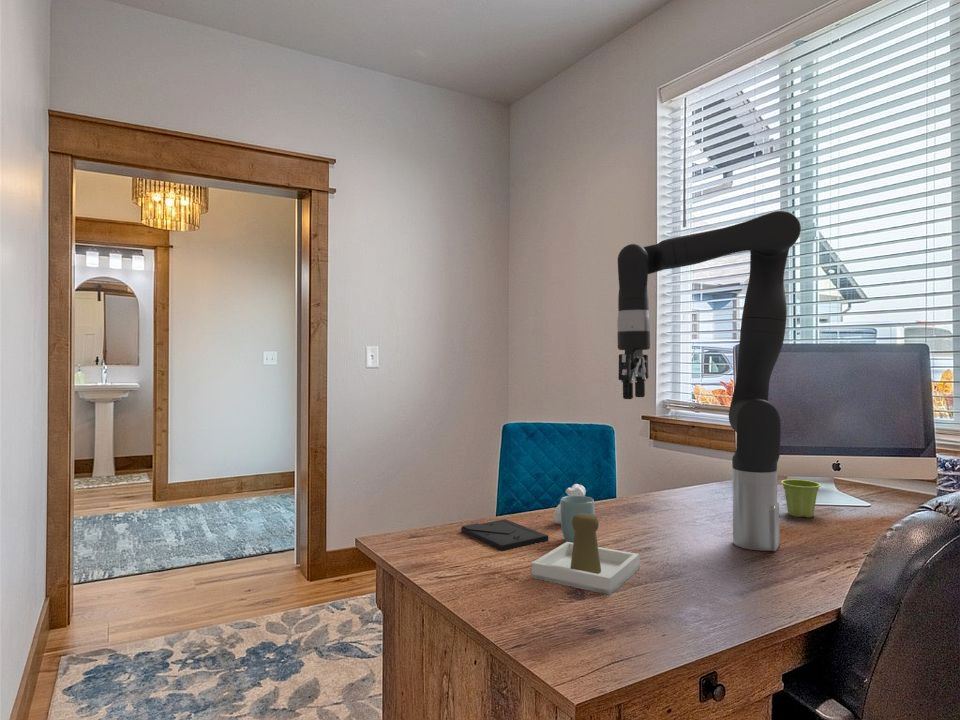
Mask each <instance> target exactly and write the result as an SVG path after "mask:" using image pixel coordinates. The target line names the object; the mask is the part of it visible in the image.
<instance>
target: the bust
mask: <svg viewBox="0 0 960 720" xmlns="http://www.w3.org/2000/svg"><path fill="white" fill-rule="evenodd" d="M586 492H587V491H586V488H585V487H584V486H583V485H582V484H578V483H574V484H573V485H571V487H567V488H566V489H565V493H566V494H567V496H586ZM553 520H554V522H555V523H556V524H558V525H560V524H561V515H560V503H559V504H558V505H557V506H556V508H555V510H554V512H553Z"/></svg>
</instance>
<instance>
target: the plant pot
mask: <svg viewBox="0 0 960 720" xmlns="http://www.w3.org/2000/svg"><path fill="white" fill-rule="evenodd" d="M781 484H782V487H783V490H784V494H785V502H786V507H787V508H786V509H787V513H788V514H789V516H793V517H796V518H803V517H805V518H809V519H810V518H812V517H814V514H815V507H816V502H817V501H816V500H817V496H818V495H817V494H818V492H819V489H820V487H821V485H822V484H821V483H819V482H816V481H813V480H812V481H811V480H807V479H783V480H781Z"/></svg>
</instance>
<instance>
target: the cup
mask: <svg viewBox="0 0 960 720" xmlns="http://www.w3.org/2000/svg"><path fill="white" fill-rule="evenodd" d="M559 504H560V515H561V523H560V528H561V534H562V537H563V539H564V540H565V542H572V543H573V542H574V534H575V530H574V529H573V526H572V519H573V517H574V516H575V515H576V514H580V513H588V514H593V515H595V501H594V498H592V497H591V496H586V495H585V496H568V495H566V496H563V497H561V498H560V502H559Z"/></svg>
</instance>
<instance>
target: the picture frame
mask: <svg viewBox="0 0 960 720" xmlns="http://www.w3.org/2000/svg"><path fill="white" fill-rule="evenodd" d="M460 532H461V534H463V535H466V536H468V537H470V538H472V539H474V540H477V541H478V542H481V543H484V544H485V545H487V546H489V547H492V548H494V549H496V550H497V551H500V552H504V551H510V550H514V548H515V549H519V548H524V547H528V546H532V545H531V544H533V545H536V544H535V543H538V544H541V543H540V542H542V543H546V542H545V541H547V542H549V535H548V534H545V533H542V532H541V531H537V530H534V529H532V528H530V527H526V526H524V525H522V524H519V523H516V522H514V521H512V520H508V519H498V520H494V521H488V522H482V523H472V524H465V525H461V527H460ZM523 546H524V547H523ZM518 547H519V548H518Z"/></svg>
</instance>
